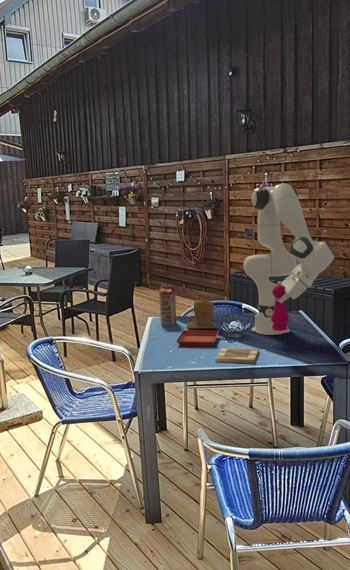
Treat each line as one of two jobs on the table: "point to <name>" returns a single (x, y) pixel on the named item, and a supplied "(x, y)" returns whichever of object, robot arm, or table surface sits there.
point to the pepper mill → (279, 309)
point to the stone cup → (202, 315)
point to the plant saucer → (197, 338)
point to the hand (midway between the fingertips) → (278, 300)
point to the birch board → (237, 355)
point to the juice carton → (167, 304)
